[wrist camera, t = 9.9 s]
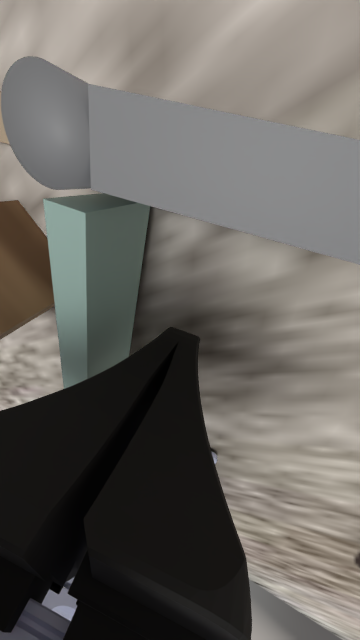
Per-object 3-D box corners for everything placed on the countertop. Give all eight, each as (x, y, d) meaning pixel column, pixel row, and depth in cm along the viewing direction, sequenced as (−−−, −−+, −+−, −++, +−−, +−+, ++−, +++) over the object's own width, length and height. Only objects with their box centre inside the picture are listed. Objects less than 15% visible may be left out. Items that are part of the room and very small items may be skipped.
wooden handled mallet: (324, 231, 8) (386, 284, 4) (-119, 114, 11) (-341, 76, 7) (360, 165, 7) (496, 146, 3) (-144, 53, 10) (-427, -34, 6)
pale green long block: (107, 186, 9) (19, 190, 6) (167, 205, 9) (111, 221, 5) (100, 359, 15) (55, 410, 11) (136, 374, 14) (100, 431, 11)
